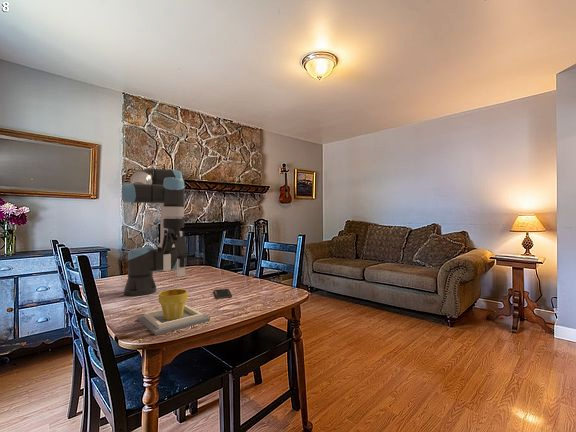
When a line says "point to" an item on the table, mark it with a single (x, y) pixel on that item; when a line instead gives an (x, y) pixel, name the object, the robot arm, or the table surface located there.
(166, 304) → the plant pot
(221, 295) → the phone
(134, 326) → the table surface
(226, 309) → the table surface
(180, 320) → the board
